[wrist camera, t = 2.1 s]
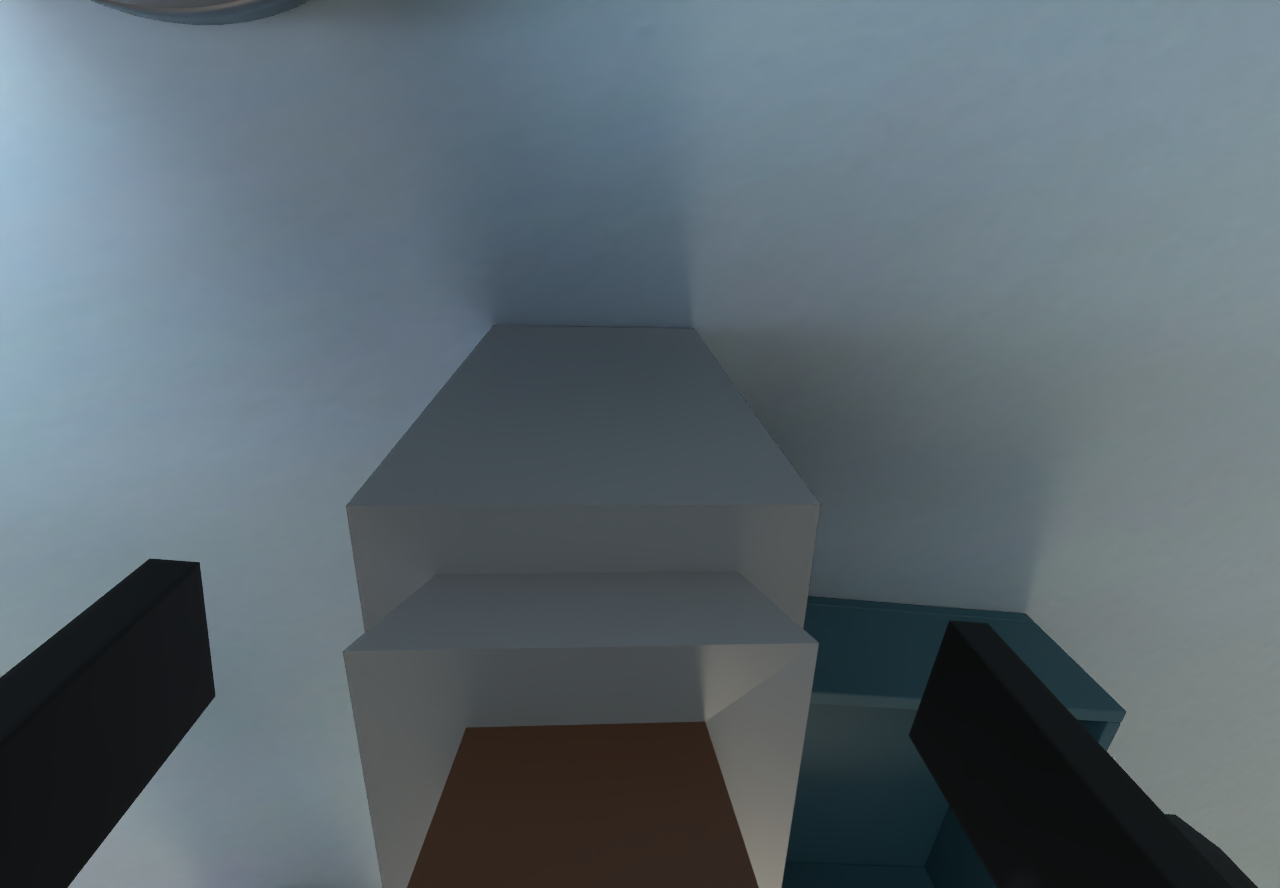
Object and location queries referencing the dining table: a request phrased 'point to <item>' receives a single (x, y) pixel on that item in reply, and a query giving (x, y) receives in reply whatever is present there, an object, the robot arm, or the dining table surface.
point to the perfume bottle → (583, 623)
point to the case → (898, 745)
